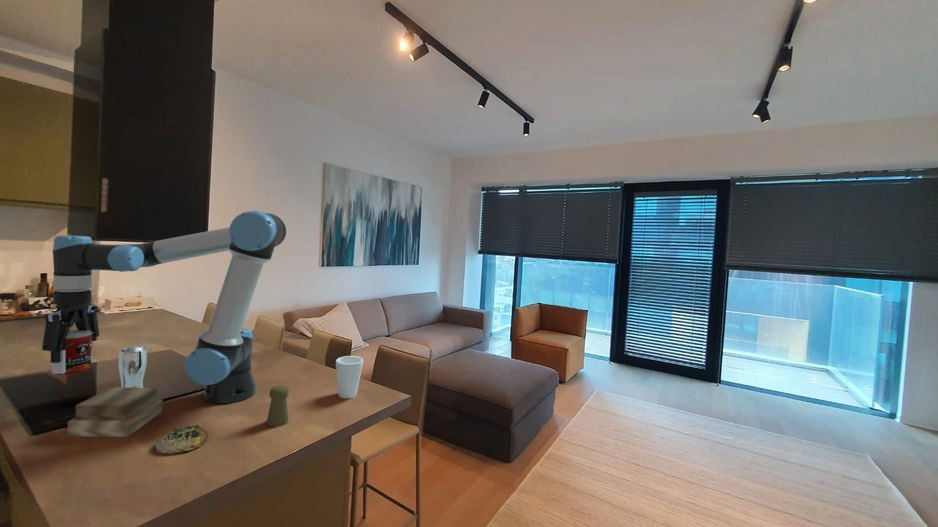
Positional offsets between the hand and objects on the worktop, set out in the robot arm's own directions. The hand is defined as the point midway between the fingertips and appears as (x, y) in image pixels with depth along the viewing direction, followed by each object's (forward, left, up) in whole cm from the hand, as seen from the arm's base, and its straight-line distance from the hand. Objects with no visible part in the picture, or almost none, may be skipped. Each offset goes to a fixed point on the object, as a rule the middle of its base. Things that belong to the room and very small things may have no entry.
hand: (72, 367), depth 108 cm
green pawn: (-58, +3, -14) cm, 59 cm away
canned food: (0, 0, -1) cm, 1 cm away
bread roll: (-38, +15, -14) cm, 43 cm away
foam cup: (-75, -18, -14) cm, 78 cm away
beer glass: (-6, -15, -14) cm, 21 cm away
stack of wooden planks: (-16, +5, -14) cm, 22 cm away
